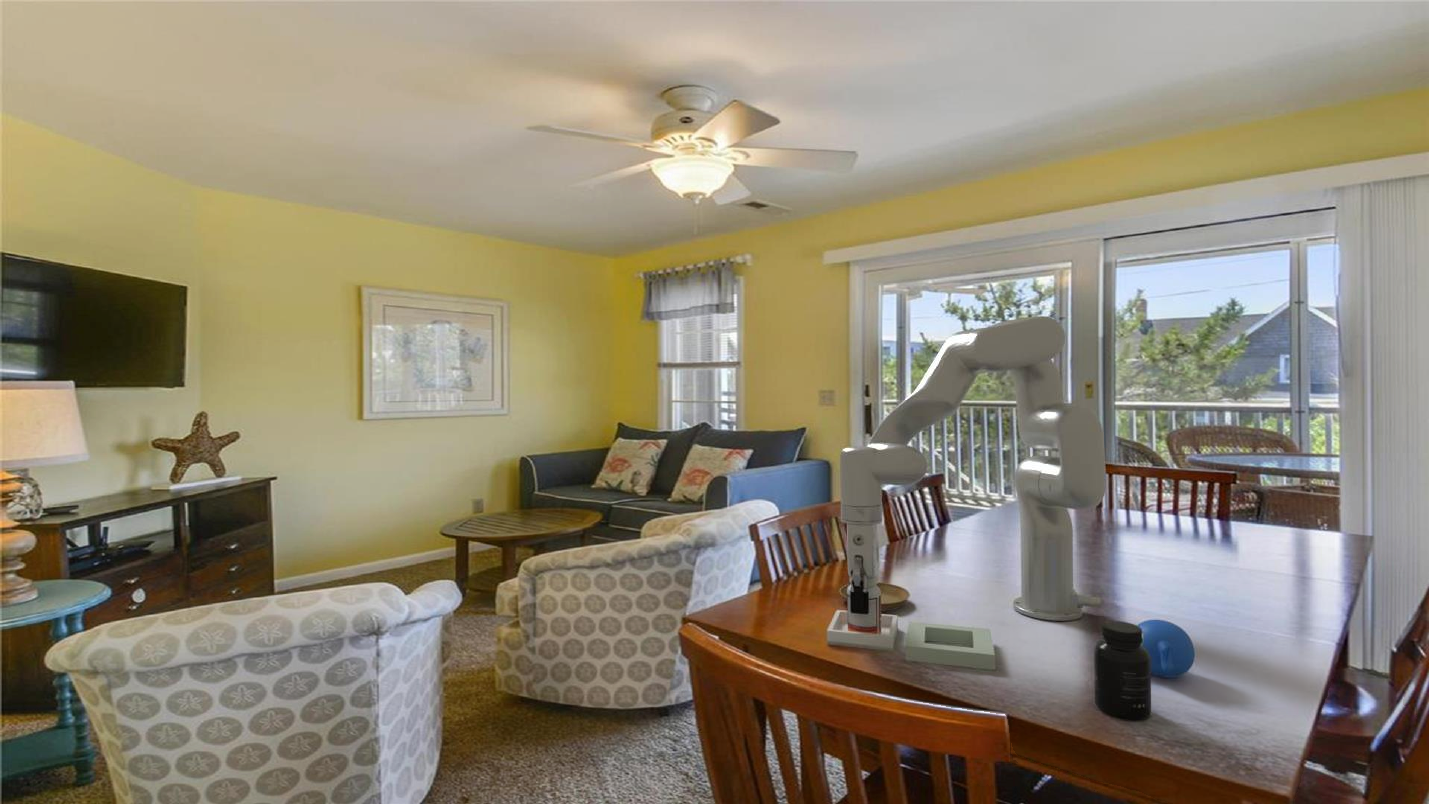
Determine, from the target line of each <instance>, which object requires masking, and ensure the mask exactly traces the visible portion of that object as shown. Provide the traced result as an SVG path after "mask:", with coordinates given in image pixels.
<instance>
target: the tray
mask: <svg viewBox="0 0 1429 804" xmlns="http://www.w3.org/2000/svg"><path fill="white" fill-rule="evenodd" d="M898 620H899V618H898V615H895V614H885V613H881V634H872V633H862V632H852V631H848V613H847V610H844V609H842V610H841V609H837V610H836V611H835V613H834V615H833V617H832V619H831V621H830V623H829V625H828V627H827V630H826V645H830V646H837V647H838V646H839V647H849V648H856V647H857V648H859V649H866V648H867V650H877V651H884V650H886V651H887V652H894V651H895V644H896V640H897V634H898V630H899V622H898Z"/></svg>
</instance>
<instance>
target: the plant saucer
mask: <svg viewBox="0 0 1429 804" xmlns="http://www.w3.org/2000/svg"><path fill="white" fill-rule="evenodd" d="M850 585H851V583H849V584H845V585H844V586H841V588H839V594H840V595H841V596H842V598H843V599H844V601H846V602H847V589H848V587H849V586H850ZM876 586H878V587H879V588H880V591H881V612H888V611H889V612H890V611H894V610H896V609H897V610H898V609H899V608H901V607H902V606H903V605H904V604H905V602H907V601H908V600H909V598H910V596H911V593H910V591H908V589H906V588H904V587H902V586H899V585H896V584H892V583H886V582H879V581H878V584H876Z"/></svg>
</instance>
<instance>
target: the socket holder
mask: <svg viewBox="0 0 1429 804" xmlns="http://www.w3.org/2000/svg"><path fill="white" fill-rule="evenodd" d="M926 641H928V642H937V643H948V644H956V645H965V646H972V647H964V646H955V645H946V644H937V643H927V642H926ZM904 643H905V644H904V652H905V653H904V655H905V656H904V657H905V658H904V660H905V661H910V662H918V663H926V664H927V663H928V664H936V665H947V666H953V667H962V668H969V669H970V668H973V669H979V670H989V671H996V654H995V649H994V643H993V639H992V633H991V629H990V628H983V627H981V628H980V627H973V626H961V625H960V626H959V625H952V624H951V625H949V624H939V623H928V622H927V623H926V622H919V621H918V622H917V621H908V625H907V630H906V637H905V642H904Z"/></svg>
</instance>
